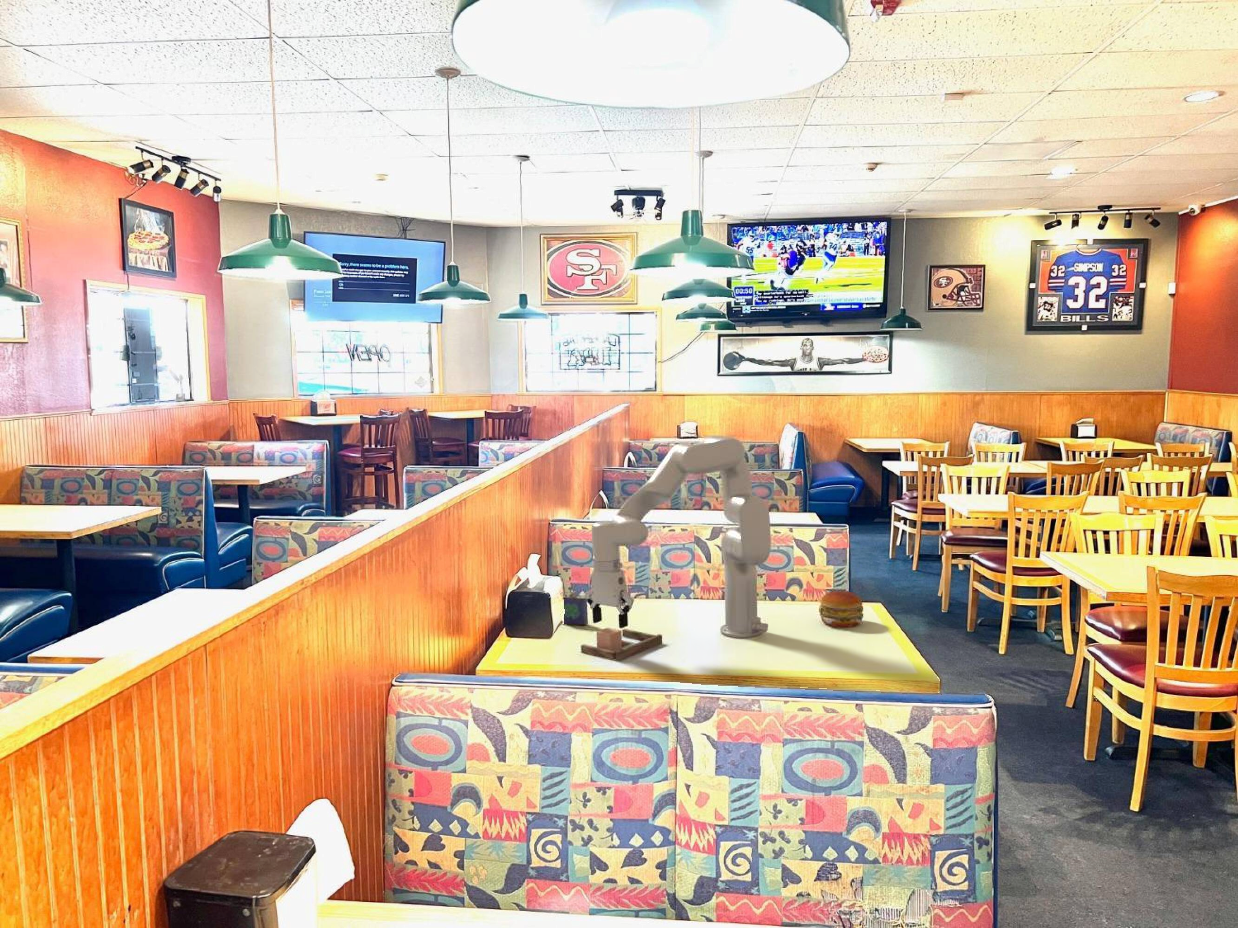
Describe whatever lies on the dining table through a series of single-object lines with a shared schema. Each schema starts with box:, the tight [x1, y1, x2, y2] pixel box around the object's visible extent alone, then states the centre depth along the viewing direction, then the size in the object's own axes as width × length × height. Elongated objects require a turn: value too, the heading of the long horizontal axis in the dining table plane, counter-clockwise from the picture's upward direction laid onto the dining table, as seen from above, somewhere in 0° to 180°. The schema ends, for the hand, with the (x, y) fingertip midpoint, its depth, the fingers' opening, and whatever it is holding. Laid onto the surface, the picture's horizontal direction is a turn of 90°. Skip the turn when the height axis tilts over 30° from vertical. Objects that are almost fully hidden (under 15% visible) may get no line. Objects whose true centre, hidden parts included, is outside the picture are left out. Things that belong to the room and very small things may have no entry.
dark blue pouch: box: [563, 590, 589, 627], centre depth 279 cm, size 9×3×11 cm, turn 68°
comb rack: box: [580, 628, 663, 662], centre depth 254 cm, size 14×20×3 cm
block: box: [596, 627, 623, 652], centre depth 251 cm, size 5×5×6 cm
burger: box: [818, 590, 864, 628], centre depth 271 cm, size 14×14×10 cm
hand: (610, 624), depth 250 cm, fingers open, 9 cm apart
